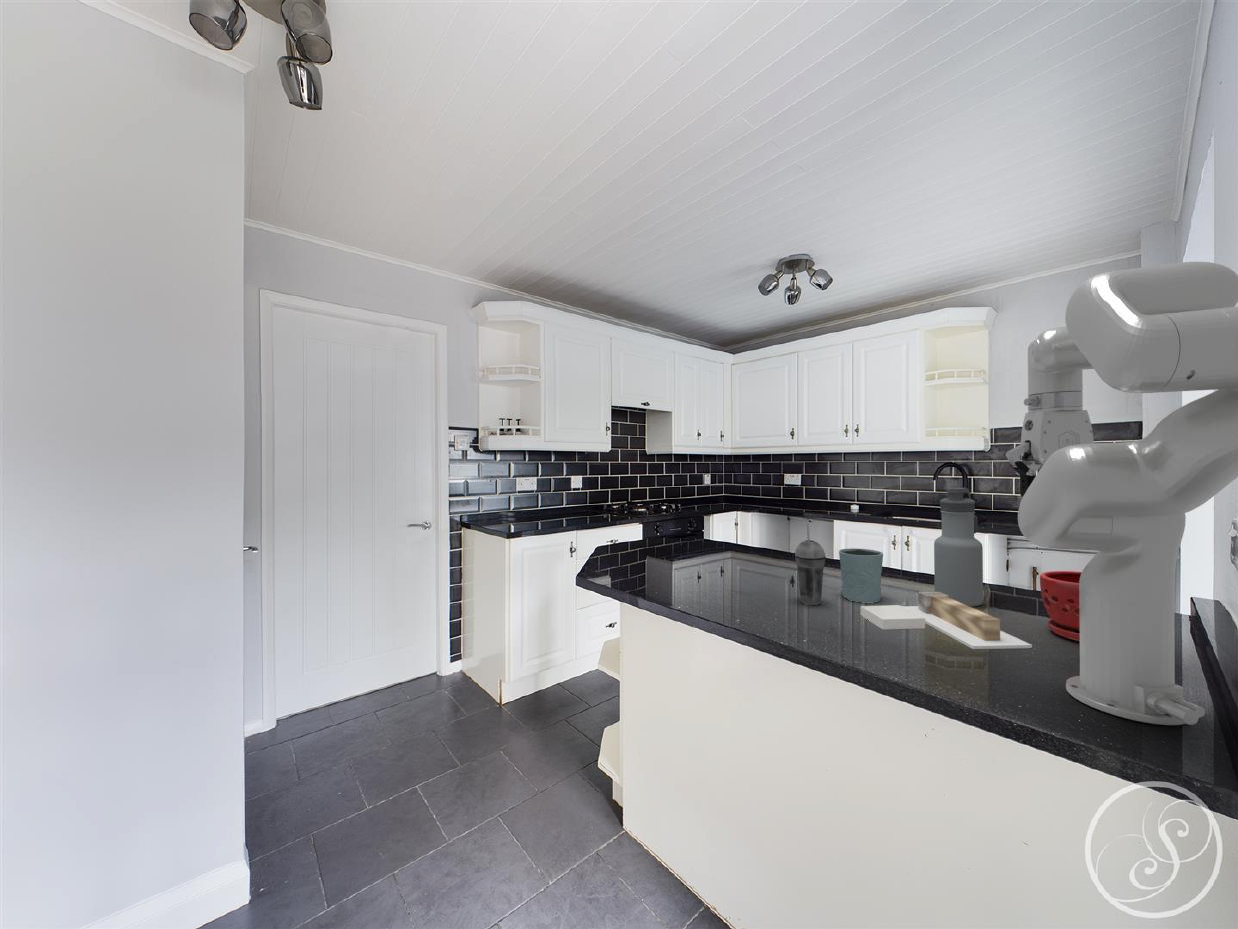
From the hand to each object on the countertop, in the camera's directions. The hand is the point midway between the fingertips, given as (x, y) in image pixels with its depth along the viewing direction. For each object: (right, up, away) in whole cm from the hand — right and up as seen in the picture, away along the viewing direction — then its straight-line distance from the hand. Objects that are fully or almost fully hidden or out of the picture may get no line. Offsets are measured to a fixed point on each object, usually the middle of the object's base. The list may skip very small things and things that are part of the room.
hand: (1055, 496), depth 90 cm
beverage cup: (-33, -29, +31) cm, 54 cm away
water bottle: (+3, -28, +29) cm, 41 cm away
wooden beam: (-9, -28, +12) cm, 32 cm away
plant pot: (+11, -28, +5) cm, 31 cm away
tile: (-21, -28, +12) cm, 37 cm away
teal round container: (-19, -28, +33) cm, 48 cm away
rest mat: (-9, -28, +12) cm, 32 cm away
